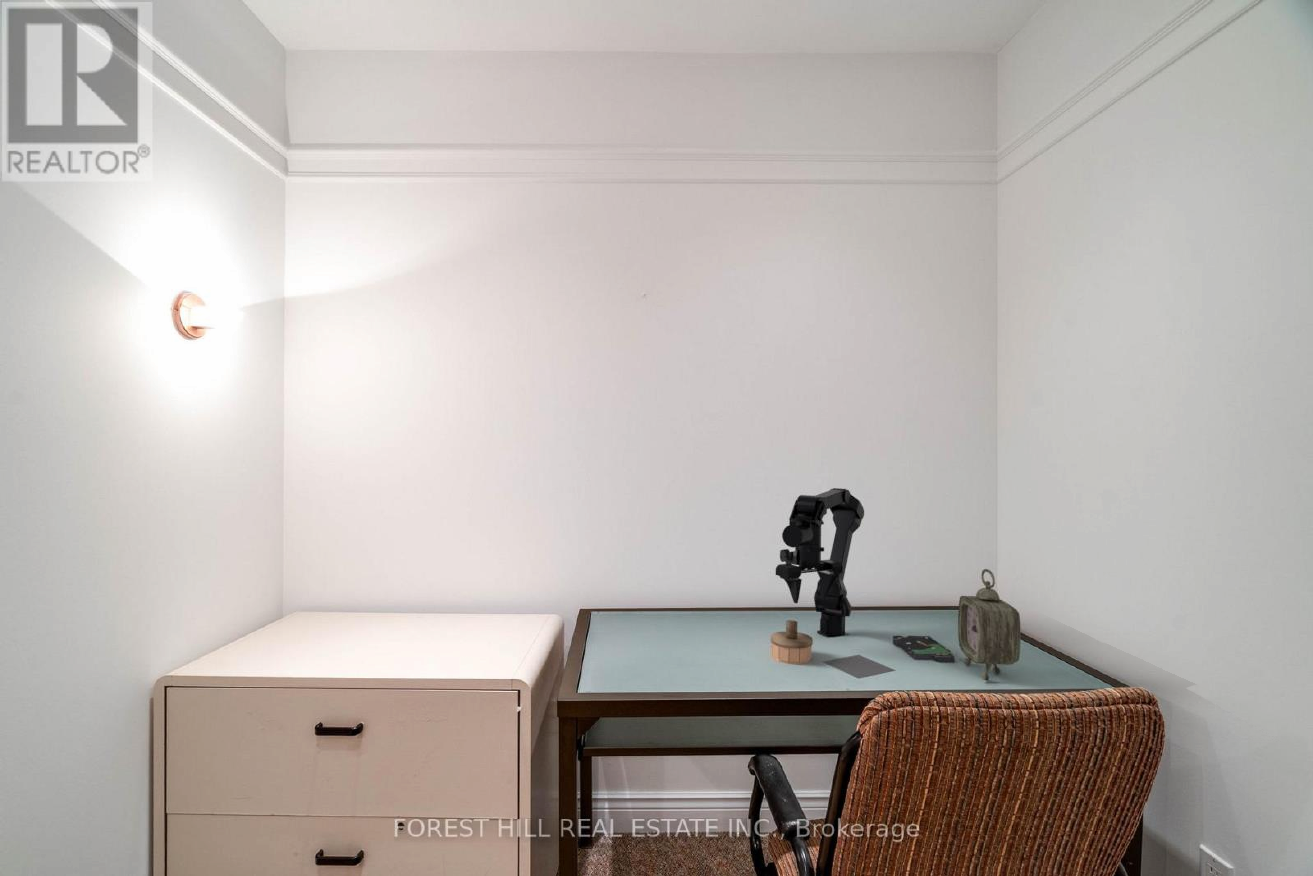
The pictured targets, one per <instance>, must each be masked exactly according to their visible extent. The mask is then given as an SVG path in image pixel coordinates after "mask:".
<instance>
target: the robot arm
mask: <svg viewBox="0 0 1313 876" xmlns="http://www.w3.org/2000/svg"><path fill="white" fill-rule="evenodd" d="M828 510H830V512H831V514H832V521H833V523H834V525H835V534H834V537H833V543H832V548H831V552H830V557H829V559H822V556H821V555H822V552H825V547H823V546H822V525H824V524H825V522H824V520H823V518H824V516H826V515H827V514H828ZM790 513H791V514H790V515H789V517H788V518H789V519H788V520H789V524H788V525H786V526H785V528H784V529H783V531H782V534H781V537H782V541H783V543H784V544H785V545H786V546H787V547H789V548H794V551H790V549H788V548H784V549H781V550H779V558H780V559H779V560H780V562H781V563H780V564H777V565H776V567H775V576H778V577H779V578H780V579H783V580H784V581H785V582H786V584H787V587H788V590H789V593H790V596H791V598H792V601H793V603H794V604H798V603H799V600H800V594H801V587H802V581H803V579H802V578H801V576H802V574H808V573H817V575H818V578H819V579H818V581H817V586H816V590H815V592H814V596H813V601H814V607H815V612H816V613H820V619H819V630H817V631H816V633H817V634H820V635H822V636H824V637H827V638H837V637H844V636H849V635H850V634H849V633H847V632H846V617H850V616H851V612H852V605H851V603H850V601H849V599H848V597H847V595H848V591H847V588H846V586H845V582H844V580H845V579H844V578H845V573H846V568H847V564H848V559H849V554H850V549H851V543H852V539H853V535H854V533H855V532H856V531H857V530H858V529H859V528H860V527H861V524H862V520H863V518H864V516H865V508H864V506H863V505H862V503H861V501H860V500H859V499H858V498H856V497H855V496H853V494H851V492H850V490H849V489H848V488H847V489H846V488H838V487H833V488H830V489H829V490H827V491H824V492H821V493H819V494H816V495H808V494H800V495H799V496H797V498H796V500H795V502H794V505H793V506H792V511H791V512H790ZM784 562H785V563H784Z"/></svg>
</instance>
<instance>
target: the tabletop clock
mask: <svg viewBox="0 0 1313 876" xmlns="http://www.w3.org/2000/svg"><path fill="white" fill-rule="evenodd" d="M985 573H988V574H989V575H990V577H991V581H992V584H991V582H990V581H989V580H986V581H985V577H984V574H985ZM981 581H982V583H983V585H984V586H985V587H983V588H980V589H978V591H977V592H976V594H975V596H974V595H972V596H970V595H961V596H959V602H958V613H957V614H958V617H957V629H958V631H957V634H958V635H957V637H958V645H959V648H960V650H961V651H962V652H963V654H964V655H965V656H966V658H965V659H964V664H965V665H967V666H970V665H971V664H972V662H973V663H975V664H979V665H980V664H981V665H983V664H984V665H985V672H984V673H983V674H982V675H981V679H982V680H983V681H987V682H988V681H989V680H990V676H989V675H988V674H989V671H990V668H991V667H992V666H994V667H993V668H992V672H993V673H994V674H995V675H999V674H1000V673H1001V669H1000V668H999V667H998V665H1003V666H1011V665H1013V664H1015V663H1017V662H1018V661H1019V660H1020V657H1021V656H1020V654H1021V617H1020V612H1019V611H1018V610H1017V609H1016V608H1015V607H1014V606H1012V604H1009V603H1008V602H1006V601H1004V600H1002V599H1000V596H999V594H998V592H997V590H995V589H993V588H994V587H995V584H996V580H995V575H994V573H993V571H991V570H990V569H988V568H984V569H983V570H982V571H981Z"/></svg>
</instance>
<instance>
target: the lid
mask: <svg viewBox="0 0 1313 876" xmlns="http://www.w3.org/2000/svg"><path fill="white" fill-rule="evenodd" d="M771 642H772V643H773V644H775V645H777V646H781V647H785V648H807V647H810V646H812V647H813V644H814V640H813V637H812V636H811V635H808V634H806V633H802V632H798V621H796V620H792V619H790V620H786V621H785V631H778V632H774V633H771V634H770V643H771Z"/></svg>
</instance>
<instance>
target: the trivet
mask: <svg viewBox="0 0 1313 876" xmlns="http://www.w3.org/2000/svg"><path fill="white" fill-rule="evenodd" d="M822 663H824V664H826V665H829V666H831V667H832V668H834V669H837V670H839V671H840V672H841V671H842V672H843V673H846V674H847V675H849V676H852V677H855V678H857V679H862V678H865V677H866V678H868V677H872V676H877V675H880V674H886V673H890V672H893V671H896V669H893V668H891V667H889V666H886V665H884V664H882V663H880V662H877V661H875V660H873V659H870V658H868V657H865V656H863V655H861V654H856V655H851V656H844V657H841V658H840V657H839V658H835V659H830V660H823V661H822Z"/></svg>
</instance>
